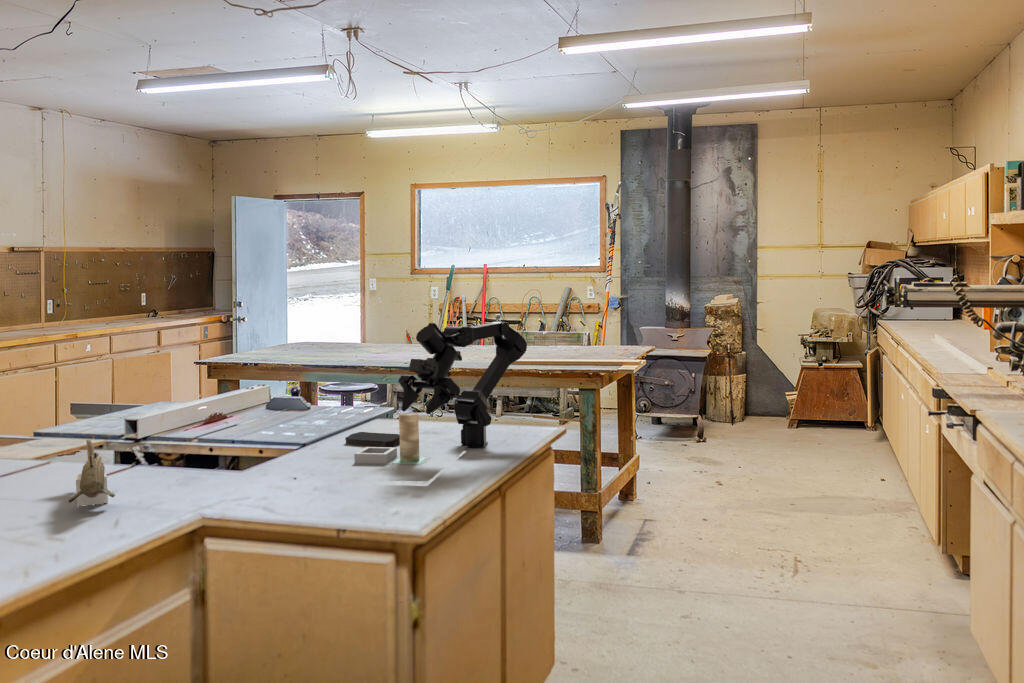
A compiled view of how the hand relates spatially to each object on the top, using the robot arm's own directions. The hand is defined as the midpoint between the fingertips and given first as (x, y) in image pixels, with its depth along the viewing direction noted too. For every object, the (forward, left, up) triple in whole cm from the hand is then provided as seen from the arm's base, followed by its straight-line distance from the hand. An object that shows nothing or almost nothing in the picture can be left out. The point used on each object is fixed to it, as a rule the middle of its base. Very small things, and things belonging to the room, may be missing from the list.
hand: (414, 412), depth 218 cm
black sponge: (+18, -16, -14) cm, 28 cm away
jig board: (+5, +5, -13) cm, 15 cm away
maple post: (0, +5, -12) cm, 13 cm away
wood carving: (+61, +47, -13) cm, 78 cm away
